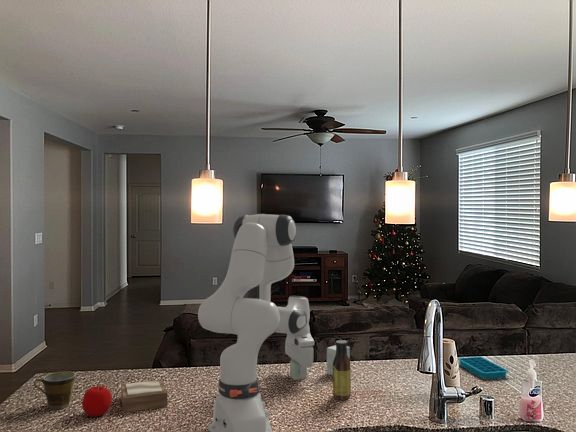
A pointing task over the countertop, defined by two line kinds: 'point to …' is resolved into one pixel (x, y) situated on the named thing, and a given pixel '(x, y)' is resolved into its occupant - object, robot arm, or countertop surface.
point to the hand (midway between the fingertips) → (298, 371)
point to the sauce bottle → (341, 372)
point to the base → (143, 395)
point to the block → (296, 371)
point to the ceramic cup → (58, 388)
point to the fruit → (96, 401)
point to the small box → (330, 358)
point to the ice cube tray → (483, 367)
